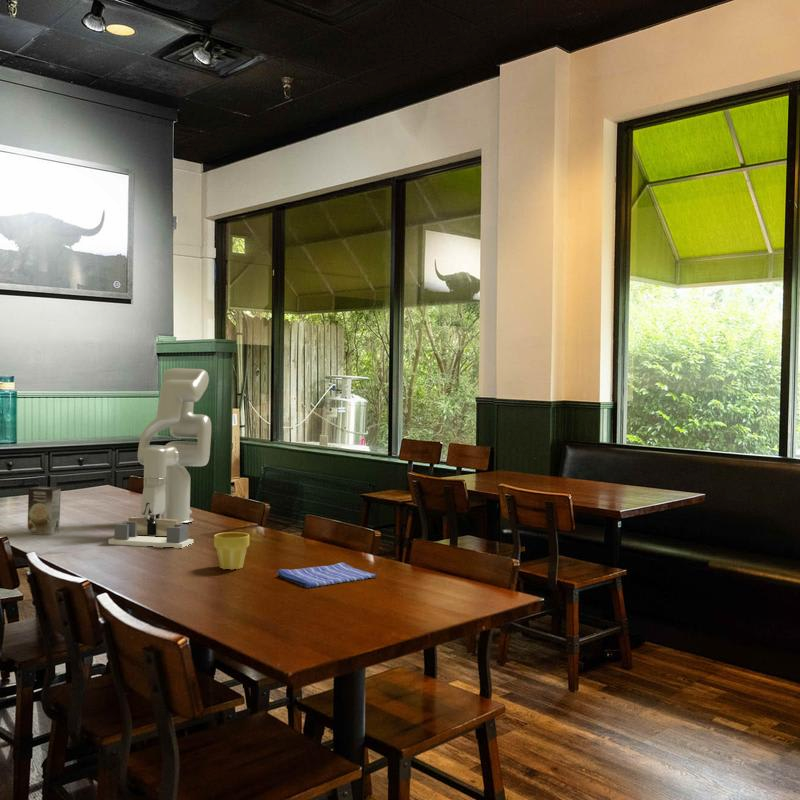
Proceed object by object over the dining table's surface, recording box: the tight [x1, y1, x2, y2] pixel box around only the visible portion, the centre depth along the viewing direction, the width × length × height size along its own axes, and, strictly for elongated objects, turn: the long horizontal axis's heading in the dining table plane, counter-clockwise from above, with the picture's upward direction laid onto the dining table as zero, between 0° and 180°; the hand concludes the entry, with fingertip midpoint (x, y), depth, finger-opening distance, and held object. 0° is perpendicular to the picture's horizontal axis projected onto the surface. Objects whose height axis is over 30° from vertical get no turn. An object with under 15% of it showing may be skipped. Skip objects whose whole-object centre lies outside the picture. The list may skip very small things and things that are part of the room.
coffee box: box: [26, 485, 62, 536], centre depth 284 cm, size 9×6×16 cm
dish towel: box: [276, 562, 377, 589], centre depth 231 cm, size 17×24×3 cm
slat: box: [127, 516, 179, 537], centre depth 285 cm, size 2×18×6 cm, turn 81°
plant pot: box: [213, 531, 250, 571], centre depth 239 cm, size 10×10×10 cm
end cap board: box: [108, 520, 194, 549], centre depth 271 cm, size 9×26×6 cm, turn 81°
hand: (153, 533), depth 286 cm, fingers closed on slat, 2 cm apart
